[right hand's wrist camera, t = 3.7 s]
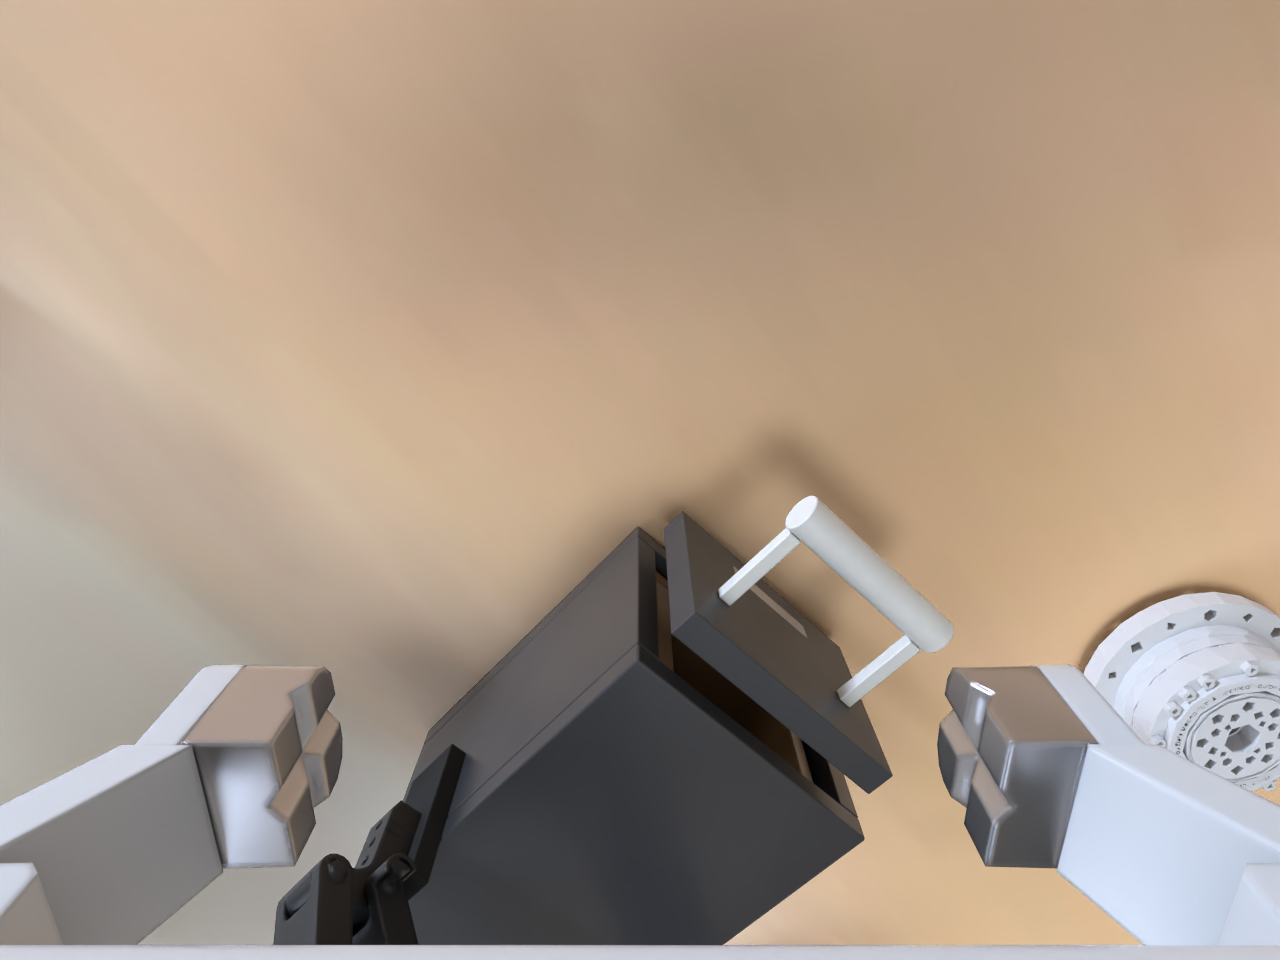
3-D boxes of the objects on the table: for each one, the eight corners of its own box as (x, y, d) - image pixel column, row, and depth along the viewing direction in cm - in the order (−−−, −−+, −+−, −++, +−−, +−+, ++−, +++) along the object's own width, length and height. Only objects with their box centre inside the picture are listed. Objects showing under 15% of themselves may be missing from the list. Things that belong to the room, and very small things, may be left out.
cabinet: (638, 525, 36) (637, 659, 26) (809, 671, 39) (866, 840, 29) (428, 731, 40) (360, 911, 31) (597, 848, 43) (584, 1048, 33)
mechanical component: (1032, 693, 39) (1163, 792, 41) (1077, 755, 35) (1220, 861, 37) (1197, 549, 36) (1329, 663, 39) (1268, 598, 32) (1411, 722, 34)
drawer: (769, 427, 33) (808, 508, 26) (926, 575, 36) (1006, 690, 28) (478, 707, 39) (436, 846, 31) (633, 819, 41) (632, 974, 33)
